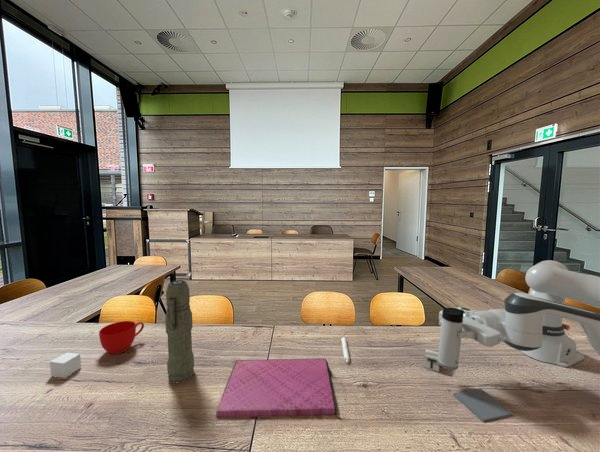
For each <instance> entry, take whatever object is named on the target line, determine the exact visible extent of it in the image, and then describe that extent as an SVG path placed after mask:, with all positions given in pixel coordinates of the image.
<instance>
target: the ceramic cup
mask: <svg viewBox="0 0 600 452" xmlns="http://www.w3.org/2000/svg"><path fill="white" fill-rule="evenodd" d="M139 325H141V327H140V329H139V330H138V331H137V332H136V330H137V327H138V326H139ZM144 327H145V324H144V323H143V322H141V321H138V322H135V321H131V320H124V321H117V322H113V323H110V324H108V325H106V326H103V327H102V328H101V329H100V330H99V331H98V335H99V336H98V337H99V341H100V345H101V347H102V348H103V349H104V351H106V352H107V353H109V354H110V353H111V354H110V355H119V354H118V353H120V354H122V353H121V352H123V353H125V352H126V351H127V349H128V350H129V348H130V347H131V346H132V345H133V343H134V341H135V338H136V337H137V336H138V335H139V334H140V333H141V332H142V331H143V329H144ZM125 350H126V351H125ZM124 351H125V352H124Z"/></svg>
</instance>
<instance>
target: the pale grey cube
mask: <svg viewBox="0 0 600 452" xmlns="http://www.w3.org/2000/svg"><path fill="white" fill-rule="evenodd" d="M81 362H82V361H81V354H80V353H74V352H65V353H63V354H61V355H59V356H57V357H56V358H54V359H52V360H50V361H49V368H50V377H51V376H56V377H62V378H66V377H67V376H69V375H70V374H72V373H74V372H75V371H77V370H78V369H80V368H81V369H82V363H81ZM81 369H80V370H81ZM78 371H79V370H78ZM78 371H77V372H78ZM75 373H76V372H75ZM75 373H74V374H75ZM72 375H73V374H72ZM70 376H71V375H70ZM70 376H69V377H70ZM62 378H61V379H62ZM67 378H68V377H67ZM67 378H66V379H67Z"/></svg>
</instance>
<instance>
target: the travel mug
mask: <svg viewBox="0 0 600 452" xmlns="http://www.w3.org/2000/svg"><path fill="white" fill-rule="evenodd" d="M442 310H443V313H442V321H441V326H440V332H439V343H438V351H437V352H438V364H439V367H442V368H444V369H446V370H449V371H455V370H458V368H459V361H460V352H461V345H462V344H461V342H462V338H460V337H459V336H457V334H458V333H457V332H458V331H461V330H462V325H463V313H464V314H465V312H464V311H463V310H461V309H457V308H455V307H445V308H443V309H442Z"/></svg>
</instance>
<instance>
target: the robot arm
mask: <svg viewBox="0 0 600 452" xmlns="http://www.w3.org/2000/svg"><path fill="white" fill-rule="evenodd" d="M525 283H526V285H527V286H528V287H529V288H530V289H529V293H525V292H513V293H511V294H509V295H508V296H507V297H505V298H504V300H503V301H504V308H492V309H491V308H490V309H488V310H476V309H470V308H468V307H467V308H466V307H462V306H459V307H457V308H456V309H461V310H463V311H464V312H465V314H464V313H463V325H462V330H461V331H458V332H457V333H458V334H457V336H459V337H460V338H461V339H464V338H465V339H470V340H473V341H475V342H477V343H479V344H480V345H482V346H484V347H488V348H491V347H494V346H497V345H499V344H500V343H501V342H503V343H504V344H506V345H508V347H510V348H513V349H515V350H517V351H520V352H521V353H522V354H524V355H525V356H528V357H530V358H532V359H534V360H537V361H540V362H544V363H546V364H547V363H548V364H552V365H553V364H554V365H557V366H560V367H564V368H569V367H571V366H573V365H575V364H577V363H579V362H580V361H583V360H584V359H585V355H584V354H582V353H580V352H579V351H577V343H576V341H574V340H573V339H572V338H571V337H569V336H568V335H567V334H566V332H565V330H566V331H569V330H570V329H571V326H570V325H569V324H565V323H563V320H564V319H566V320H571V321H574V322H577V323H578V324H580V326H581V328H582V330H583V331H584V333H585V336H586V339H587V340H588V342H589V344H590V346H591V347H592V349H593V350H594V351H595V353H597V354H598V355H599V356H600V313H599V312H597V311H592V310H589V309H587V308H582V307H579V306H574V305H570V304H566V303H565V302H566V300H567V299H568V300H571V301H576V302H579V303H582V304H583V305H584V304H585V305H588V306H590V307H594V308H596V309H599V310H600V276H597V275H593V274H587V273H582V272H578V271H573V270H569V269H568V268H567V267H566V265H564V264H563V263H561V262H560V261H556V260H551V259H550V260H542V261H540V262H538V263H535V265H533V266H531V267H529V268H528V270H527V271H526V273H525ZM442 313H443V309H442V310H440V311H439V313H438V325H439V326H440V327H441V321H442Z"/></svg>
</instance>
